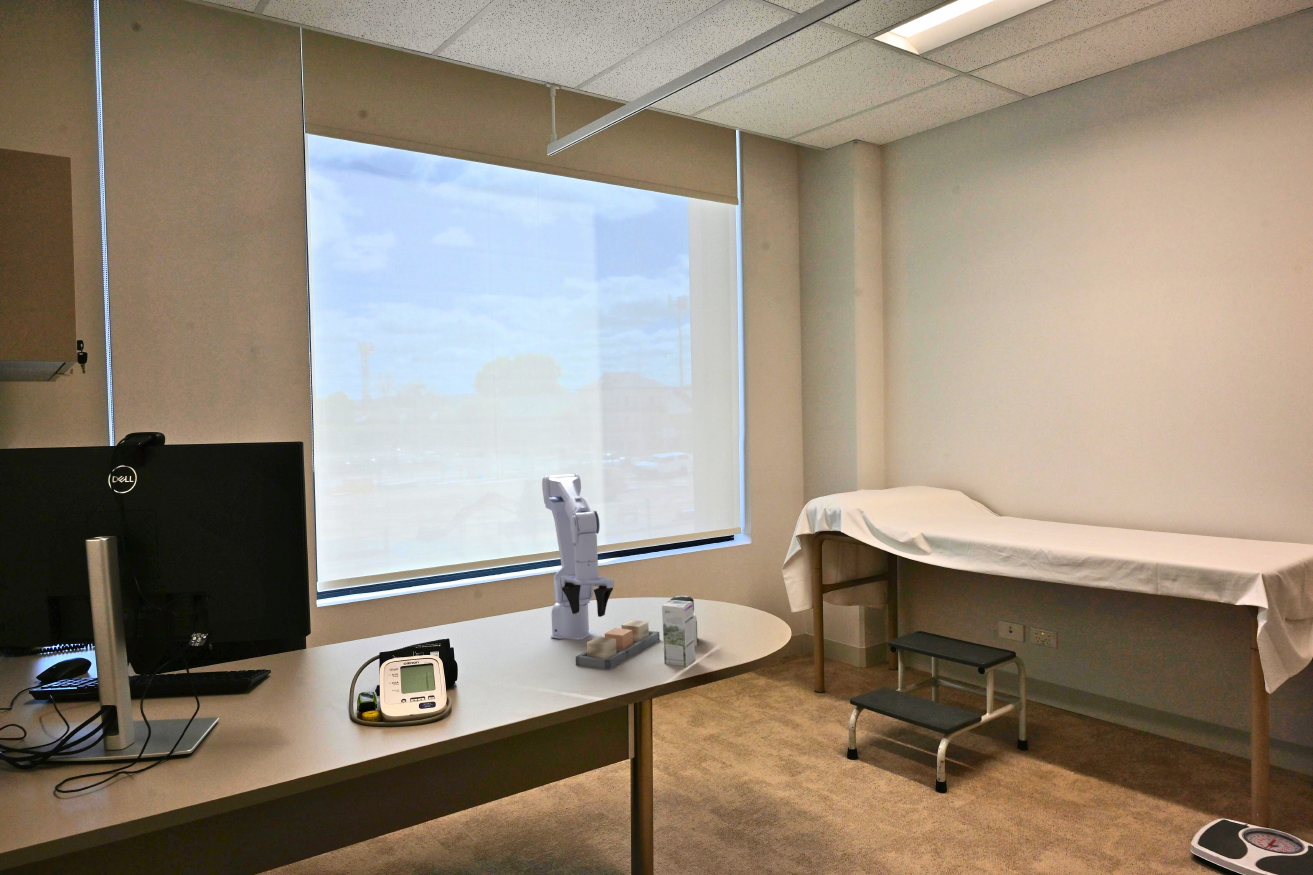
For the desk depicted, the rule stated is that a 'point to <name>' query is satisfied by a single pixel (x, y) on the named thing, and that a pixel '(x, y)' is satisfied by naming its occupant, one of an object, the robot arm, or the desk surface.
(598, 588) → the robot arm
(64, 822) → the desk surface
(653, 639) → the organiser tray
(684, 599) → the medicine bottle
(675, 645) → the syrup box
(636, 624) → the ash block far
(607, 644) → the ash block near
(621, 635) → the terracotta block
